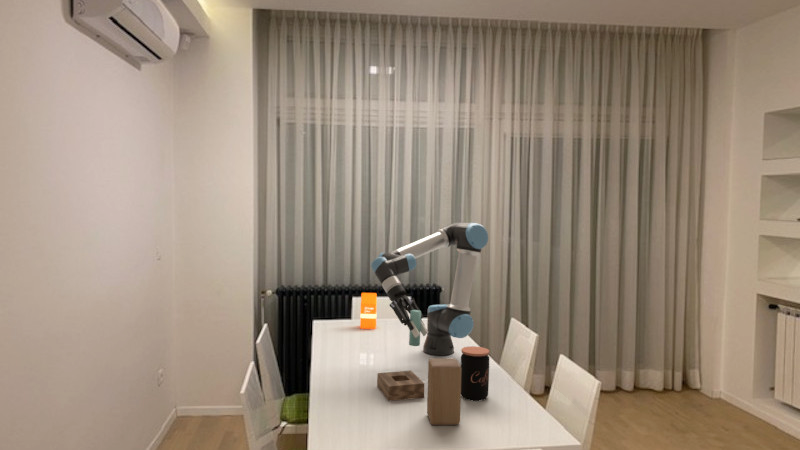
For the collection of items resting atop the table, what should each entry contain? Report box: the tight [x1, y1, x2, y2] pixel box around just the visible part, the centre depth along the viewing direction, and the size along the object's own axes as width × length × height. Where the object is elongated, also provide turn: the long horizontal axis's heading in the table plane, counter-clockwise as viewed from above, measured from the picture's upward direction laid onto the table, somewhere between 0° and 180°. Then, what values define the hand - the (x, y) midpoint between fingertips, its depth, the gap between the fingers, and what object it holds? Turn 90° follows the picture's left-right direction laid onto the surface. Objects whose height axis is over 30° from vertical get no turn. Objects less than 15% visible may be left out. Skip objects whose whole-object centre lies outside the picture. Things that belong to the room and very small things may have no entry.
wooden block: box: [426, 358, 462, 426], centre depth 189 cm, size 10×10×20 cm
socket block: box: [376, 370, 425, 402], centre depth 216 cm, size 14×16×6 cm
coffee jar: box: [460, 346, 490, 402], centre depth 213 cm, size 11×11×18 cm
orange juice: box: [359, 292, 378, 330], centre depth 323 cm, size 8×9×20 cm
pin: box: [408, 309, 422, 347], centre depth 229 cm, size 4×4×14 cm
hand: (421, 335), depth 227 cm, fingers closed on pin, 4 cm apart
